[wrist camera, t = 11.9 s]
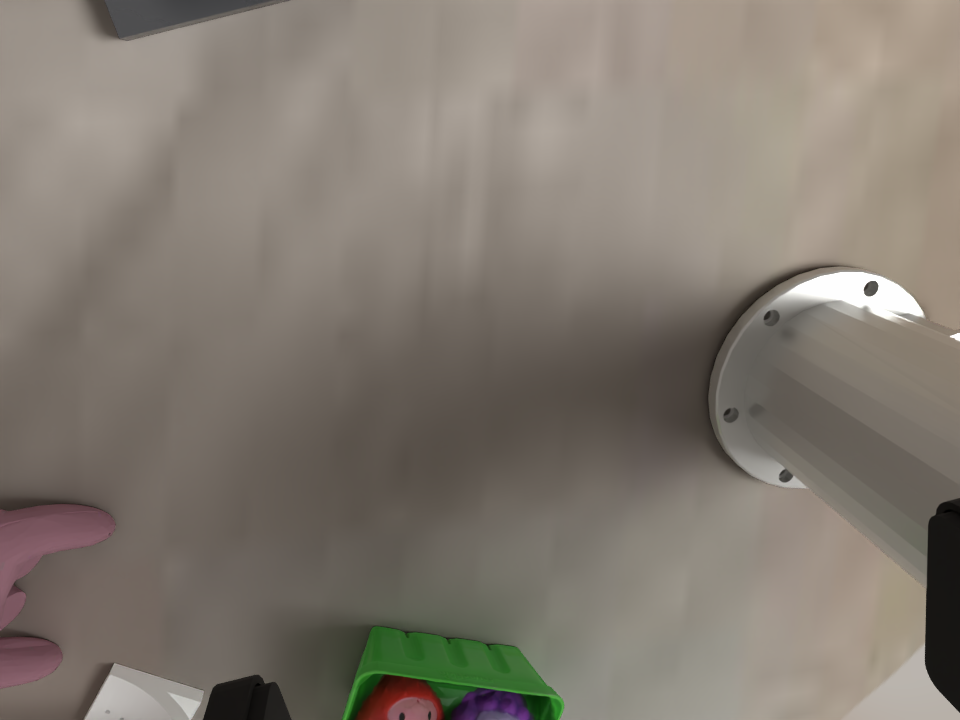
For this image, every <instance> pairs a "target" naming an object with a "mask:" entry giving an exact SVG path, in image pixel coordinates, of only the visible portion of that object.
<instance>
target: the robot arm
mask: <svg viewBox="0 0 960 720" xmlns="http://www.w3.org/2000/svg"><path fill="white" fill-rule="evenodd" d="M708 400H709V413H710V419H711V423H712V426H713V429H714V433H715V436H716V437H717V439H718V441H719V443H720V444H721V446H722V448H723V449H724V451H725V452H726V453H727V454H728V455H729V456H730V457H731V458H732V460H733V461H734V462H735V463H736V464H737V465H738V466H740V467H741V468H742V469H743V470H744V471H746V472H747V473H748V474H749V475H750V476H752V477H754V478H756V479H758V480H760V481H762V482H764V483H766V484H770V485H774V486H777V487H782V488H797V489H805V488H809V489H810V490H811V491H812V492H813V493H815V494H816V495H817V496H818V497H819V498H820V499H822V500H823V501H824V502H825V503H826V504H827V505H829V506H830V507H831V508H832V509H833V510H834V511H836V512H837V513H838V514H839V515H840V516H841V517H843V518H844V519H845V520H846V521H847V522H848V523H850V524H851V525H852V526H853V527H854V528H855V529H857V530H858V531H859V532H860V533H861V534H862V535H864V536H865V537H866V538H867V539H868V540H869V541H871V542H872V543H873V544H874V545H875V546H876V547H878V548H879V549H880V550H881V551H882V552H883V553H885V554H886V555H887V556H888V557H889V558H890V559H892V560H893V561H894V562H895V563H896V564H897V565H899V566H900V567H901V568H902V569H903V570H904V571H906V572H907V573H908V574H909V575H910V576H911V577H913V578H914V579H915V580H916V581H917V582H918V583H920V584H921V585H922V586H923V587H924V588H925V589H927V591H926V635H925V665H926V669H927V672H928V674H929V677H930V679H931V681H932V682H933V684H934V685H935V687H936V688H937V689H938V690H939V691H940V692H941V693H942V694H943V696H944V697H945V698H946V699H947V700H948V701H949V702H950V703H951V704H952V705H953V706H954V707H955V708H956V709H957V710H958V711H959V712H960V329H958V330H953V329H950V328H947V327H945V326H942V325H940V324H937V323H935V322H932V321H930V320H927V319H926V317H925V314H924V312H923V310H922V308H921V307H920V306H919V304H918V303H917V301H916V300H915V298H914V297H913V296H912V295H911V294H910V293H909V292H908V291H907V290H905V289H904V288H903V287H902V286H901V285H900V284H898V283H897V282H895V281H893V280H891V279H889V278H887V277H885V276H883V275H880V274H877V273H874V272H871V271H868V270H864V269H861V268H852V267H844V266H839V267H828V268H819V269H816V270H812V271H809V272H806V273H802V274H799V275H797V276H795V277H793V278H791V279H789V280H787V281H785V282H782V283H780V284H778V285H777V286H775V287H774V288H773V289H771V290H770V291H769V292H767V293H766V294H764V295H763V296H762V297H760V298H759V299H758V300H757V301H756V302H755V303H754V304H753V305H752V306H751V307H750V308H749V309H748V310H747V311H746V312H745V313H744V314H743V315H742V316H741V317H740V318H739V320H738V321H737V323H736V324H735V325H734V327H733V328H732V329H731V331H730V332H729V334H728V335H727V337H726V339H725V341H724V343H723V345H722V347H721V349H720V351H719V353H718V355H717V358H716V361H715V364H714V367H713V371H712V374H711V378H710V387H709V396H708ZM203 720H291V718H290V715H289V712H288V710H287V707H286V705H285V702H284V699H283V697H282V694H281V691H280V689H279V687H278V685H277V684H276V683H275V682H272V683H268V684H265V683H264V681H263V679H262V678H261V677H260V676H259V675H253V676H249V677H245V678H241V679H237V680H233V681H229V682H225V683H221V684H217V685H216V686H215V687H214V688H213V690H212V692H211V694H210V698H209V701H208V705H207V708H206V712H205V715H204V719H203Z"/></svg>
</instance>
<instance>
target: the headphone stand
mask: <svg viewBox="0 0 960 720" xmlns="http://www.w3.org/2000/svg"><path fill="white" fill-rule="evenodd" d="M203 693H204V691H203V690H200V689H196V688H193V687H190V686H187V685H184V684H180V683H177V682H174V681H171V680H168V679H164V678H161V677H158V676H155V675H151V674H148V673H145V672H142V671H139V670H135V669H132V668H129V667H126V666H122V665H119V664H116V663H114V665H113V666H112V668H111V670H110V672H109V674H108V675H107V677H106V679H105V681H104V683H103V685H102V686H101V688H100V690H99V692H98V694H97V695H96V697H95V699H94V701H93V703H92V705H91V706H90V708H89V710H88V712H87V714H86V715H85V717H84V719H83V720H191V719H192V717H193V715H194V714H195V712H196V710H197V709H198V707H199V705H200V704H201V701H202V697H203Z"/></svg>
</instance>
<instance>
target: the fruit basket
mask: <svg viewBox="0 0 960 720" xmlns="http://www.w3.org/2000/svg"><path fill="white" fill-rule="evenodd" d="M563 709H564V702H563V700H562V699H561V698H560V696H559V695H558V694H557V693H556V692H555V691H554V690H553V689H552V688H551V687H549V686H547V685H546V684H545V682H544V681H543V680H542V678H541V677H540V676H539V675H538V673H537V672H536V671H535V670H534V668H533V667H532V666H531V664H530V663H529V662H528V661H527V659H526V658H525V657H524V655H523V654H522V653H521V652H520V650H519V649H518V648H517V647H513V646H505V645H499V644H495V645H489V646H487V645H486V644H483V643H481V642H479V641H472V640H466V639H459V638H455V639H449V640H447V639H446V638H443V637H441V636H439V635H432V634H425V633H418V632H413V633H407V634H405V633H404V632H402V631H400V630H398V629H392V628H386V627H379V626H375V627H373V628H372V629H371V632H370V634H369V638H368V641H367V645H366V648H365V650H364V652H363V655H362V658H361V661H360V664H359V667H358V670H357V672H356V676H355V680H354V683H353V686H352V689H351V691H350V694H349V697H348V700H347V704H346V707H345V711H344V714H343V717H342V720H560V717H561V715H562V712H563Z"/></svg>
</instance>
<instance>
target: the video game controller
mask: <svg viewBox="0 0 960 720" xmlns="http://www.w3.org/2000/svg"><path fill="white" fill-rule="evenodd" d="M115 525H116V524H115V522H114V519H113V518H112V517H111V516H110V515H109V514H108V513H107V512H104V511H102V510H100V509H97V508H93V507H89V506H83V505H76V504H53V505H40V506H34V507H29V508H23V509H18V510H12V511H6V510H3V509H0V631H1V630H2V629H3V628H4V627H5V626H7V625H8V624H9V623H10V622H11V621H12V620H13V619H14V618H15V617H16V616H17V615H18V614H19V613H20V611H21V609H22V608H23V606H24V604H25V601H26V594H25V593H24V592H23V591H21V590H20V589H18V588H17V587H16V586H14V585H13V584H14V582H15V580H17V579H19V578H21V577H23V576H25V575H26V574H27V573H29V572H30V571H31V570H32V569H33V568H34V567H35V565H36V564H37V563H38V562H39V560H40V559H41V557H42V555H45V554H50V553H54V552H58V551H63V550H69V549H76V548H82V547H87V546H91V545H94V544H96V543H99V542H101V541H103V540H106V539H107V538H109V537H110V536H111V535H112V533H113V532H114V530H115ZM62 658H63V654H62V651H61V649H60V648H59V646H58V645H56V644H54V643H52V642H50V641H48V640H45V639H40V638H31V637H1V638H0V689H1V688H6V687H11V686H16V685H21V684H25V683H29V682H33V681H37V680H39V679H41V678H43V677H45V676H47V675H49V674H51V673H52V672H53V671H54V670H55V669H56V668H57V667H58V666H59V664H60V663H61V661H62Z"/></svg>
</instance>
